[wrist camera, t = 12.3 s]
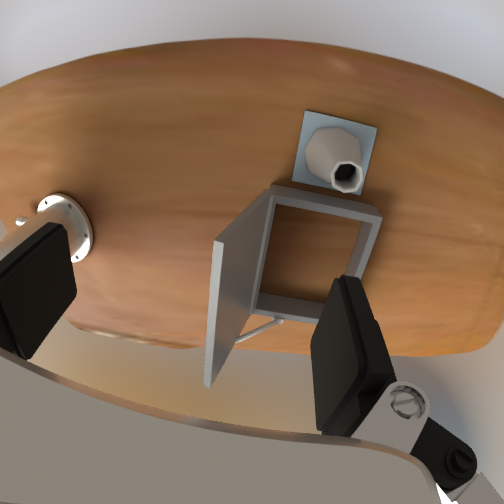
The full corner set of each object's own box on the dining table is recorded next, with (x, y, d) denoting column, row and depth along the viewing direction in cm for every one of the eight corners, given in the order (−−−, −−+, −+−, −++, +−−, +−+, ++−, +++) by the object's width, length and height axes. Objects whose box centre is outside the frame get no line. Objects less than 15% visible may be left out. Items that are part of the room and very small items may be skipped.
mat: (291, 180, 38) (291, 180, 37) (304, 110, 33) (305, 110, 33) (359, 194, 37) (360, 195, 37) (376, 127, 33) (377, 128, 32)
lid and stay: (225, 308, 45) (203, 388, 32) (241, 182, 35) (213, 241, 23) (282, 318, 45) (277, 401, 32) (314, 195, 35) (328, 262, 22)
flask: (298, 176, 37) (301, 205, 28) (308, 120, 33) (316, 130, 25) (354, 187, 37) (373, 219, 28) (367, 133, 33) (393, 148, 24)
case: (246, 295, 47) (242, 315, 43) (265, 183, 38) (263, 195, 34) (337, 310, 47) (341, 331, 43) (374, 205, 38) (384, 220, 34)
